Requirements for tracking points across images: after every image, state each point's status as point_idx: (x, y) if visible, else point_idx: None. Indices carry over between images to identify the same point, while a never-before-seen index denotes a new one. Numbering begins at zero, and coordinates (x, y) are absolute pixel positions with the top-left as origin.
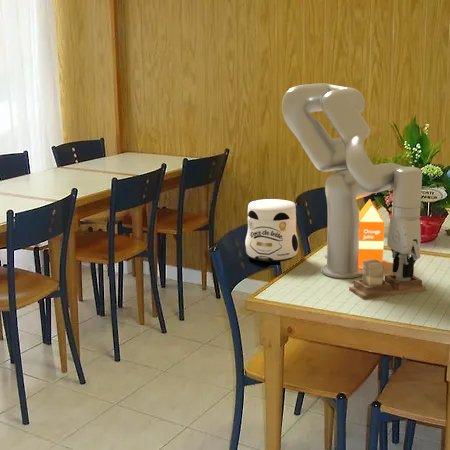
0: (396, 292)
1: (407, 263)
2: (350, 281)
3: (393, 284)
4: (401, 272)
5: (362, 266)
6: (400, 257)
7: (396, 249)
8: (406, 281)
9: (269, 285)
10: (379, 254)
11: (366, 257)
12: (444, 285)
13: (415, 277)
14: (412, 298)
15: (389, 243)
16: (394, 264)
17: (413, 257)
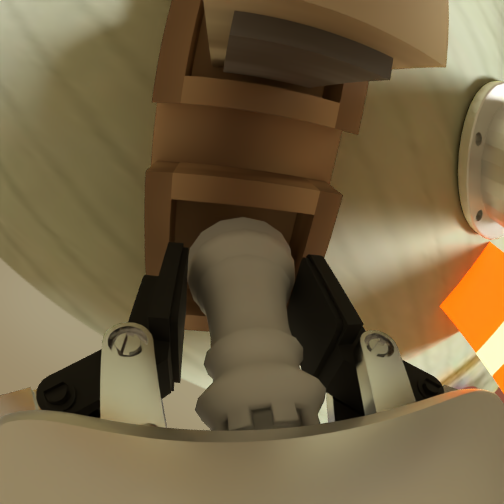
0: (154, 138)
1: (106, 339)
2: (443, 92)
3: (220, 169)
4: (221, 270)
5: (483, 255)
6: (246, 375)
7: (291, 468)
8: (164, 244)
9: None
10: (474, 329)
11: (497, 284)
12: (181, 375)
13: (207, 326)
14: (78, 184)
15: (488, 434)
16: (327, 294)
17: (25, 410)
